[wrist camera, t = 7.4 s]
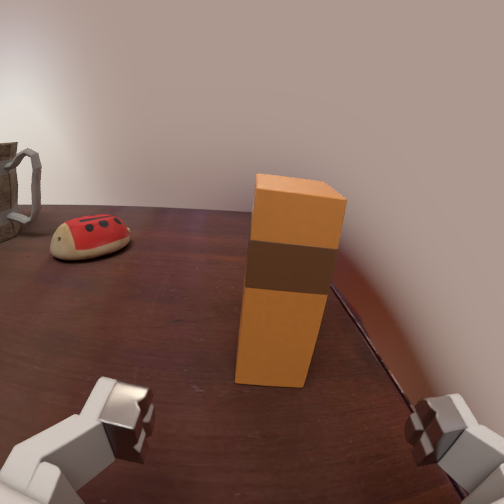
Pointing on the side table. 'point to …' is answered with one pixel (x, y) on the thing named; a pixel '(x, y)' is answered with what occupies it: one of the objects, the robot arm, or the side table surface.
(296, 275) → the granola carton
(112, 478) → the side table surface
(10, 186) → the mug
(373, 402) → the side table surface
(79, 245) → the ladybug figurine
